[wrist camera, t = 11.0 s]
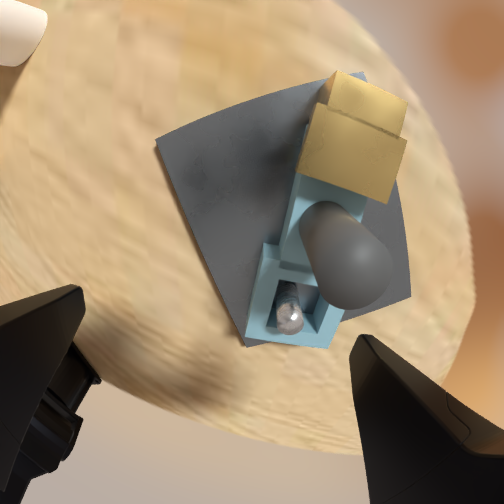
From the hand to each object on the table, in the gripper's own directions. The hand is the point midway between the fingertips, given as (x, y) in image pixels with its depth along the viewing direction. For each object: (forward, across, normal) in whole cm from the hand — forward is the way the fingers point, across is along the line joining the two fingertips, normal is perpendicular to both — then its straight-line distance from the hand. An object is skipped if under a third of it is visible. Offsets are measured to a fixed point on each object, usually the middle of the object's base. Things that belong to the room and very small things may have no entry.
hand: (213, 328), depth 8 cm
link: (+11, -5, 0) cm, 12 cm away
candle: (+12, +24, -16) cm, 31 cm away
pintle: (+12, -4, +4) cm, 13 cm away
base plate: (+11, -4, -1) cm, 12 cm away
